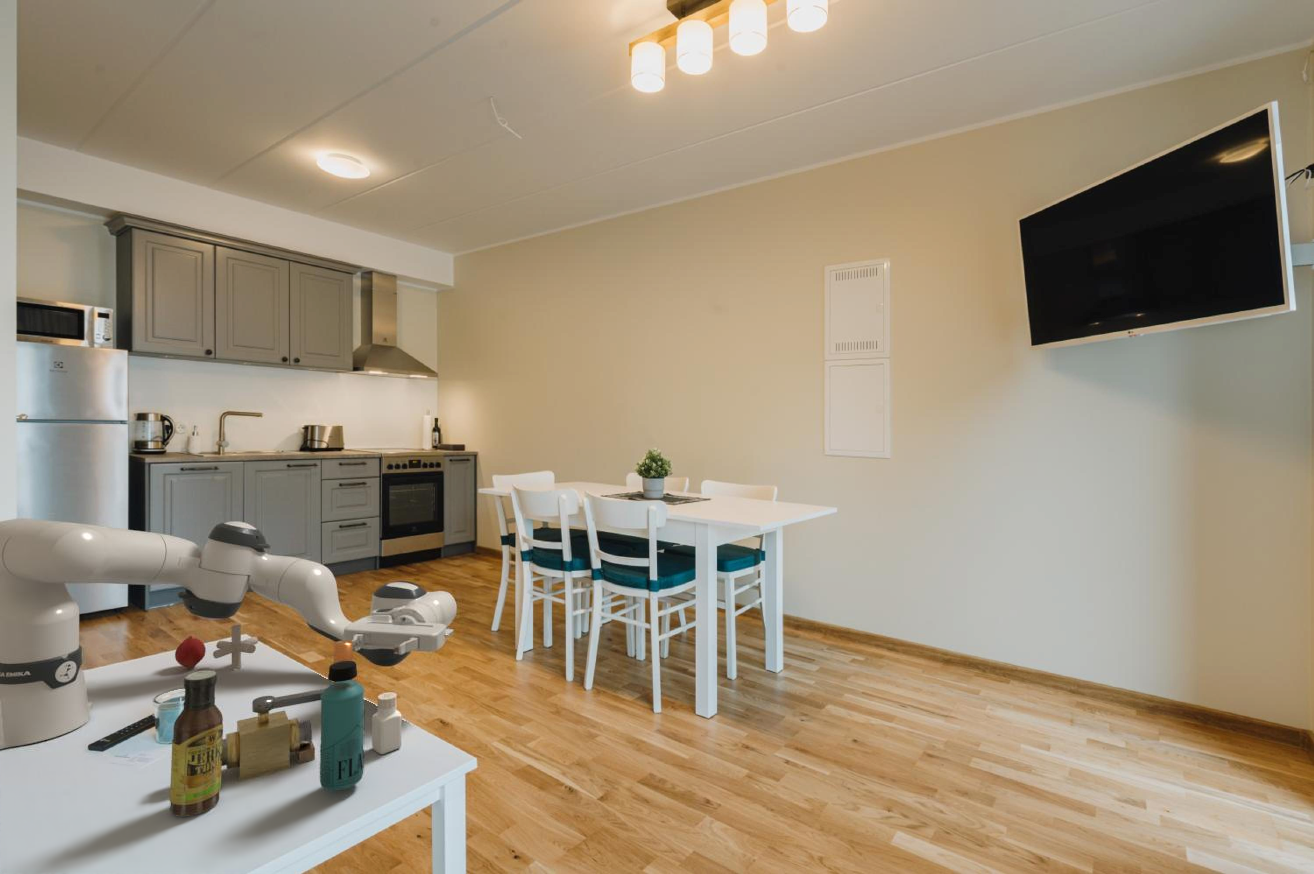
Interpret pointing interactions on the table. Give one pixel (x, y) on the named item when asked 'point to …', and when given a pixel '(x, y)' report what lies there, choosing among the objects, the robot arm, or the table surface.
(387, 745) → the pepper shaker
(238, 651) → the pipe connector
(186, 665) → the onion
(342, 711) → the beverage bottle
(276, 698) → the crank handle
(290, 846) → the table surface
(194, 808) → the sauce bottle
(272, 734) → the ball valve
